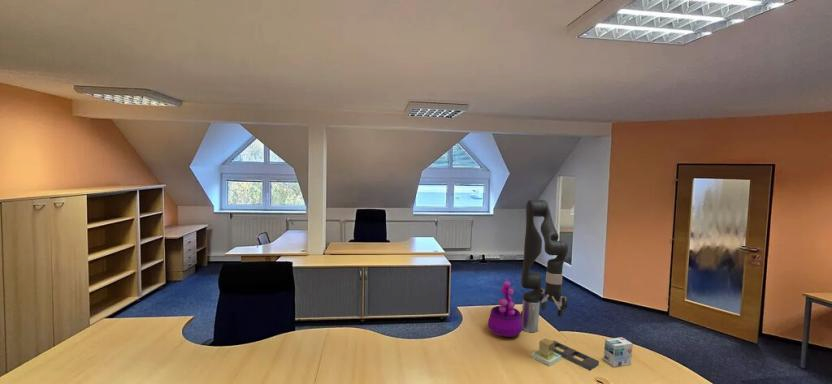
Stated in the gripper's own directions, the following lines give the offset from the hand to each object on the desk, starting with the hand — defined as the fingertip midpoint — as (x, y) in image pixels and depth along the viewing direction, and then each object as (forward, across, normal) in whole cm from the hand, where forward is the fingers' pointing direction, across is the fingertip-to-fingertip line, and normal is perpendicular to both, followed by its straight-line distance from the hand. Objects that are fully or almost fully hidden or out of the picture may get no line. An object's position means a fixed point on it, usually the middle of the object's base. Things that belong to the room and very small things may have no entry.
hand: (551, 313), depth 180 cm
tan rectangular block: (+22, 0, -2) cm, 22 cm away
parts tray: (+23, 0, -2) cm, 23 cm away
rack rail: (+23, +6, +10) cm, 25 cm away
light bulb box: (+23, +22, +24) cm, 40 cm away
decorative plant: (+23, -29, +2) cm, 37 cm away
